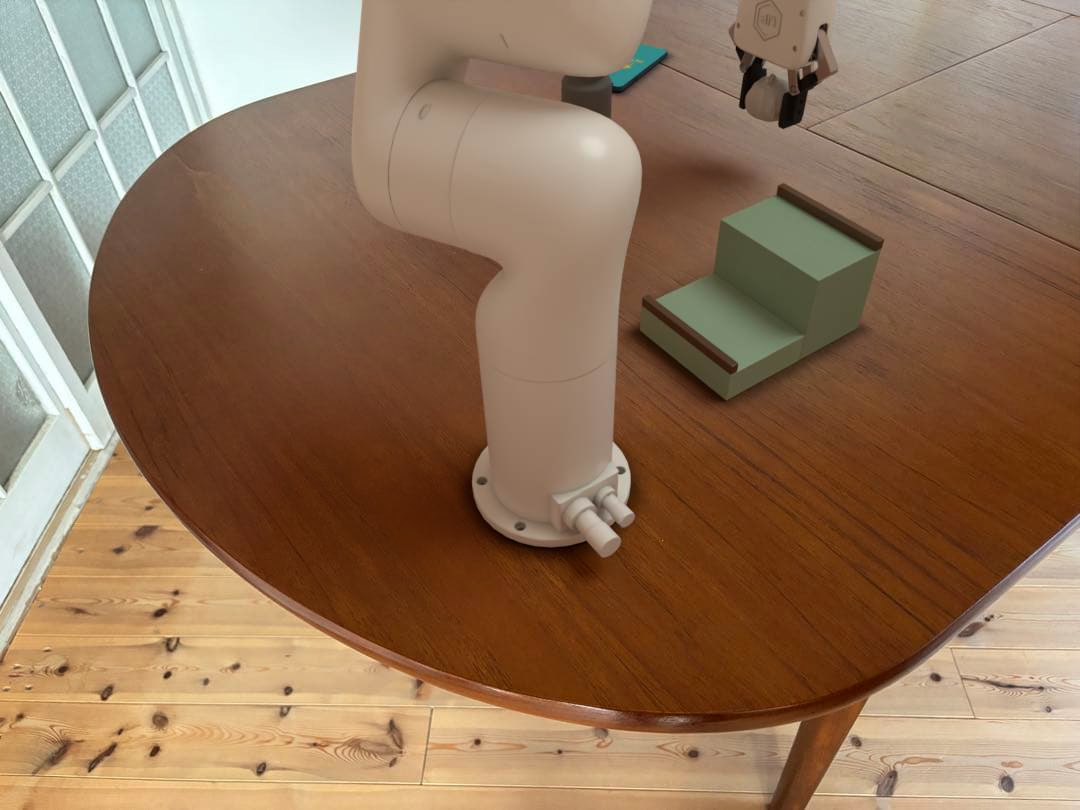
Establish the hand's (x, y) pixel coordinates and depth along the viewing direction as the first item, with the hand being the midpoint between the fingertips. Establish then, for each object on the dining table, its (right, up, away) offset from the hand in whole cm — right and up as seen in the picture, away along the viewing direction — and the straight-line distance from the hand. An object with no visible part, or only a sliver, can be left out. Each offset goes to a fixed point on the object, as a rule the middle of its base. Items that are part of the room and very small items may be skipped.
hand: (769, 113), depth 98 cm
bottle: (-21, -4, +8) cm, 22 cm away
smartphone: (-14, +16, +27) cm, 34 cm away
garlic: (0, 0, 0) cm, 1 cm away
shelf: (-6, -26, -16) cm, 31 cm away
